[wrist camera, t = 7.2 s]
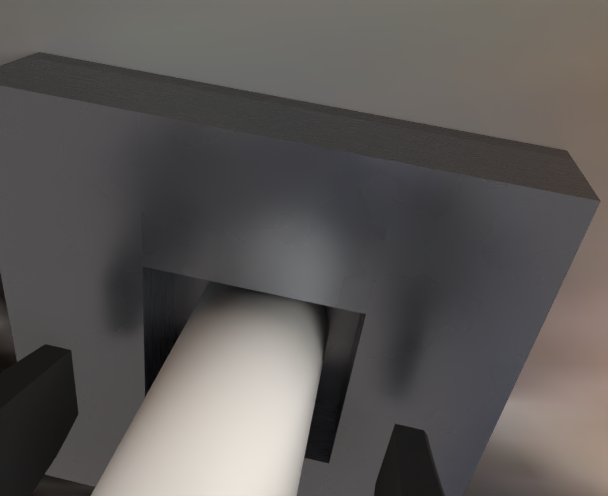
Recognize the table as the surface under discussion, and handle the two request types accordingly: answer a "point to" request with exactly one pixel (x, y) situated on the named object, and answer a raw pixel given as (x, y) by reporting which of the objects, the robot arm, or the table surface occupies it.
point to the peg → (227, 402)
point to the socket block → (278, 253)
